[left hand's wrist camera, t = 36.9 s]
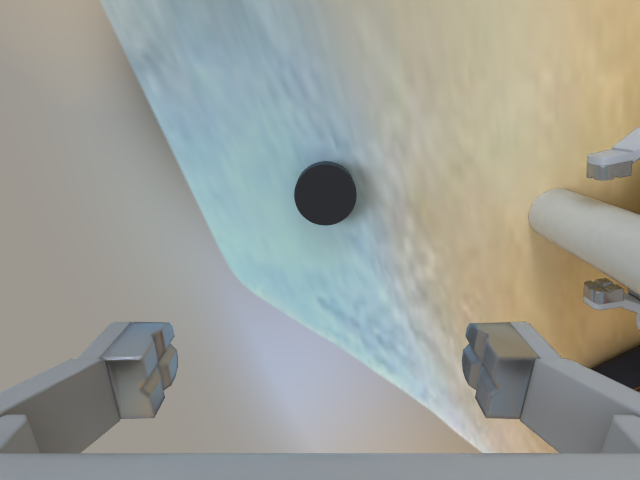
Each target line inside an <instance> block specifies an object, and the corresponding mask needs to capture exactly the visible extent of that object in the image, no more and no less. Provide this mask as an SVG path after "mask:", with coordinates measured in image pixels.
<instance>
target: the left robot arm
mask: <svg viewBox="0 0 640 480" xmlns="http://www.w3.org/2000/svg"><path fill="white" fill-rule="evenodd" d="M173 338H174V331H173V326H172V325H171V324H170V323H163V322H114V323H111V324H110V325H109V326H108V327H107V328H106V329H105V330H104V331H103V332H102V333H101V334H100V335H99V336H98V337H97V338H96V339H95V340H94V342H93V343H92V344H91V345H90V346H89V347H88V348H87V349H86V350H85V351H84V352H83V353H82V354H81V355H80V356H79V357H78V359H70V360H68V361H66V362H64V363H61V364H59V365H57V366H55V367H53V368H51V369H49V370H47V371H45V372H43V373H40V374H38V375H36V376H34V377H32V378H30V379H28V380H26V381H24V382H22V383H20V384H17V385H15V386H13V387H11V388H9V389H7V390H5V391H3V392H1V393H0V480H640V393H639V392H637V391H635V390H633V389H631V388H629V387H627V386H625V385H623V384H620V383H618V382H616V381H614V380H612V379H610V378H608V377H606V376H604V375H602V374H600V373H597V372H595V371H593V370H591V369H589V368H587V367H585V366H583V365H581V364H579V363H577V362H574V361H572V360H570V359H563V358H562V357H561V356H560V355H559V354H558V353H557V352H556V351H555V350H554V349H553V348H552V347H551V346H550V345H549V344H548V343H547V341H546V340H545V339H544V338H543V337H542V336H541V335H540V334H539V333H538V332H537V331H536V330H535V329H534V328H533V327H532V326H531V324H529V323H527V322H502V323H469V325H468V327H467V331H466V338H467V339H468V341H469V344H468V346H467V347H466V348H465V349H464V350H463V356H462V367H463V373H464V376H465V379H466V381H467V383H468V385H469V386H471V387H472V388H474V389H475V390H477V391H476V396H475V398H476V400H477V402H478V404H479V406H480V408H481V410H482V412H483V413H484V415H485V417H486V418H503V419H520V421H521V422H522V423H524V424H525V425H526V426H527V427H529V428H530V429H531V430H532V431H533V432H535V433H536V434H537V435H538V436H540V437H541V438H542V439H543V440H544V441H546V442H547V443H548V444H549V445H551V446H552V447H553V448H554V449H555V450H557V451H558V452H559V453H81V452H82V451H83V450H85V449H86V448H87V447H88V446H90V445H91V444H92V443H93V442H94V441H96V440H97V439H98V438H99V437H101V436H102V435H103V434H104V433H105V432H107V431H108V430H109V429H110V428H112V427H113V426H114V425H115V424H117V423H118V422H119V421H120V419H135V418H154V417H155V415H156V414H157V412H158V410H159V408H160V406H161V404H162V402H163V400H164V398H165V396H164V391H163V390H165V389H166V388H168V387H169V386H171V385H172V383H173V381H174V379H175V376H176V372H177V367H178V355H177V350H176V349H175V348H174V347H173V346H172V345H171V341H172V339H173Z"/></svg>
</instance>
